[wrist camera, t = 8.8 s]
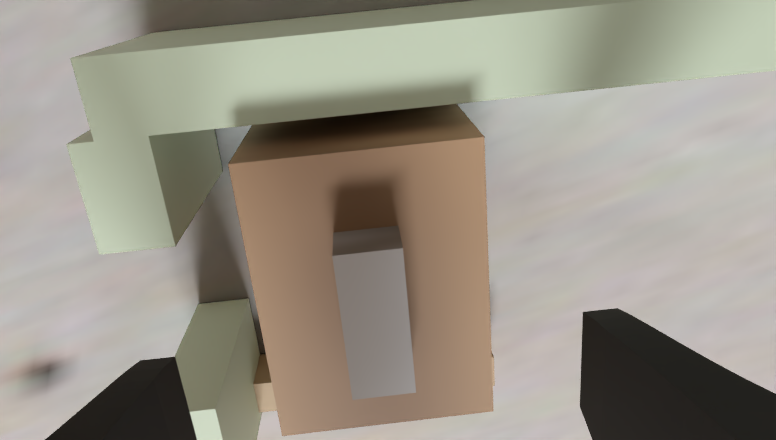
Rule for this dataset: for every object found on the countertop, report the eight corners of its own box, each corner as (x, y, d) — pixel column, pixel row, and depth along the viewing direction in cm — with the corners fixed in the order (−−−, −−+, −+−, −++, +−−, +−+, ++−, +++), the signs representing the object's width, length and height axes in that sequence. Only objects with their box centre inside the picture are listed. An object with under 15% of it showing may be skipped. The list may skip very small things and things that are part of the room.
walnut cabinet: (437, 81, 16) (496, 152, 10) (449, 279, 19) (504, 444, 12) (268, 98, 16) (216, 182, 10) (301, 296, 18) (277, 472, 12)
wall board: (932, -46, 16) (1175, -54, 11) (849, 321, 20) (1001, 426, 15) (134, 34, 15) (41, 61, 11) (219, 392, 19) (180, 523, 15)
